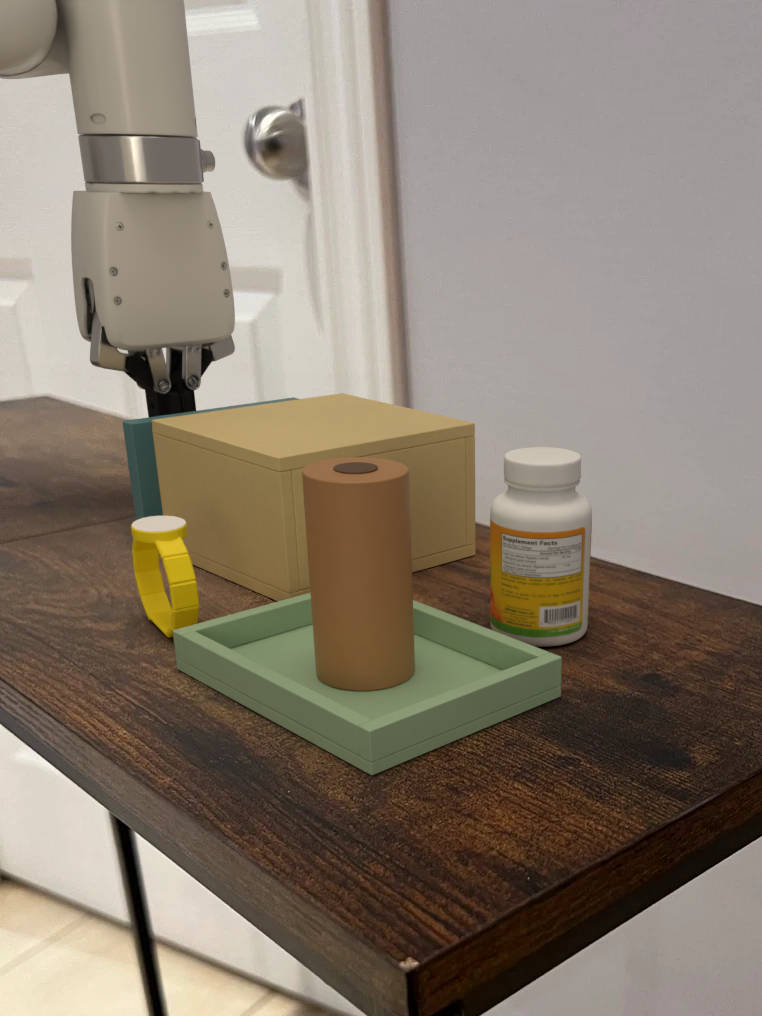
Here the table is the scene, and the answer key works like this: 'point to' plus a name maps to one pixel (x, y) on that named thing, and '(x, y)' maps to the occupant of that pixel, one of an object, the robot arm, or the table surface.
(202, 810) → the table surface
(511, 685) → the tray
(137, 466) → the drawer
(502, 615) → the supplement bottle
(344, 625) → the paper roll
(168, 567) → the watch
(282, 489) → the cabinet
